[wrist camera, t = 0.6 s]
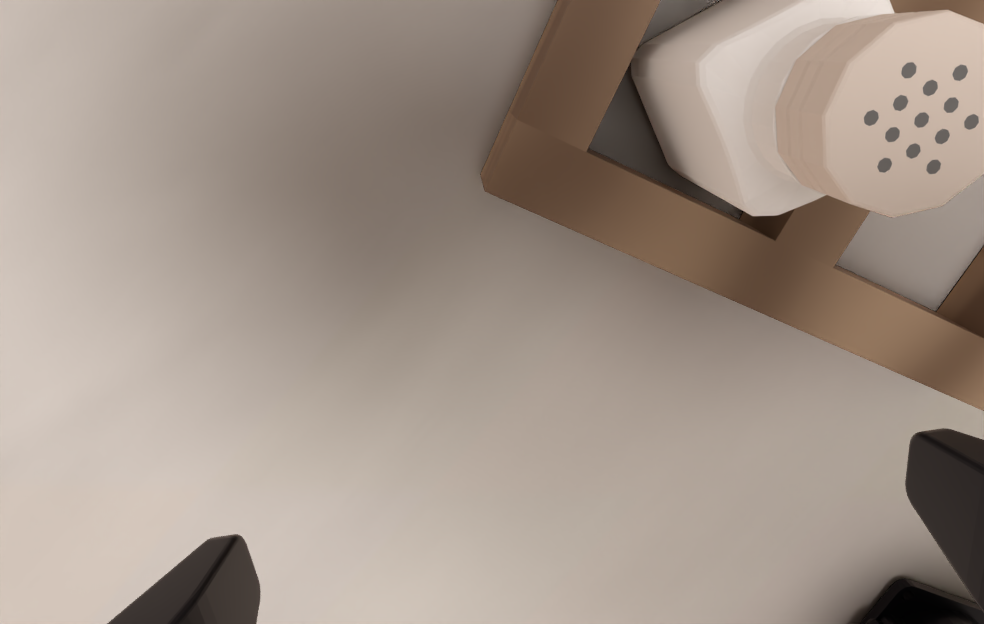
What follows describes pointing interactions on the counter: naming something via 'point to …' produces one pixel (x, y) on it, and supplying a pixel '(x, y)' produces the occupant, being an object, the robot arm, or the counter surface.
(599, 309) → the counter surface
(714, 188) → the pepper shaker
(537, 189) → the wooden compartment tray
